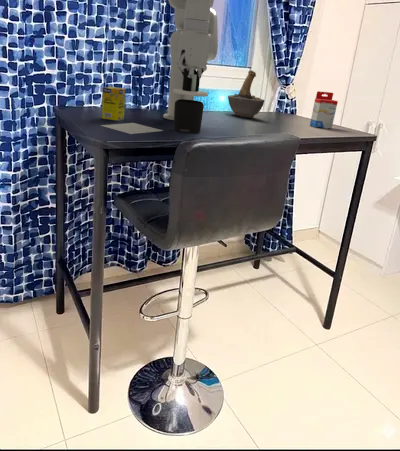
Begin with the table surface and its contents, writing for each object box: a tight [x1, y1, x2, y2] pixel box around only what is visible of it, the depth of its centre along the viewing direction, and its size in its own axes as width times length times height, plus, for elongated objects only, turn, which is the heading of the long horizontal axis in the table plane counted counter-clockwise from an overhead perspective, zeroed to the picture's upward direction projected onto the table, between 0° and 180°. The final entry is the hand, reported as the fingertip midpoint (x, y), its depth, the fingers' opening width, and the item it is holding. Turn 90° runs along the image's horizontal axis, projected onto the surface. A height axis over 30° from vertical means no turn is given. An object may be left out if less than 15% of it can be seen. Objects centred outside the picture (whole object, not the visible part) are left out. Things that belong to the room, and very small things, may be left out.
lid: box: [173, 74, 209, 98], centre depth 132 cm, size 11×11×6 cm
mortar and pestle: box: [227, 69, 265, 119], centre depth 184 cm, size 15×17×20 cm
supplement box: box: [101, 86, 126, 122], centre depth 142 cm, size 6×6×11 cm
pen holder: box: [173, 99, 205, 134], centre depth 136 cm, size 9×9×10 cm
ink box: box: [309, 91, 339, 129], centre depth 180 cm, size 8×5×15 cm, turn 105°
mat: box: [100, 122, 164, 135], centre depth 132 cm, size 14×14×1 cm
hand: (190, 90), depth 132 cm, fingers closed on lid, 3 cm apart
